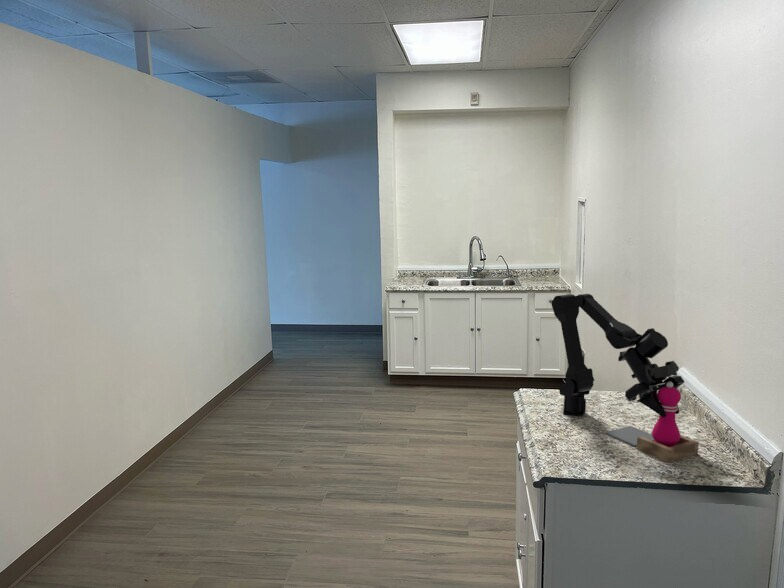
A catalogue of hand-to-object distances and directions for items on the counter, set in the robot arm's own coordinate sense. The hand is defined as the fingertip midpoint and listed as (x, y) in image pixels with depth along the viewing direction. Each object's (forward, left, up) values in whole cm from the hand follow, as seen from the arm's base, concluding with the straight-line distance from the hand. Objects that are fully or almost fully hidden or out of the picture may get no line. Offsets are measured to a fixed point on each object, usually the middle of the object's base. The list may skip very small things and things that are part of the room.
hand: (671, 415), depth 167 cm
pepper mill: (-1, +1, -11) cm, 11 cm away
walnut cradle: (-1, +1, -11) cm, 11 cm away
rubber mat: (-9, +8, -11) cm, 16 cm away
